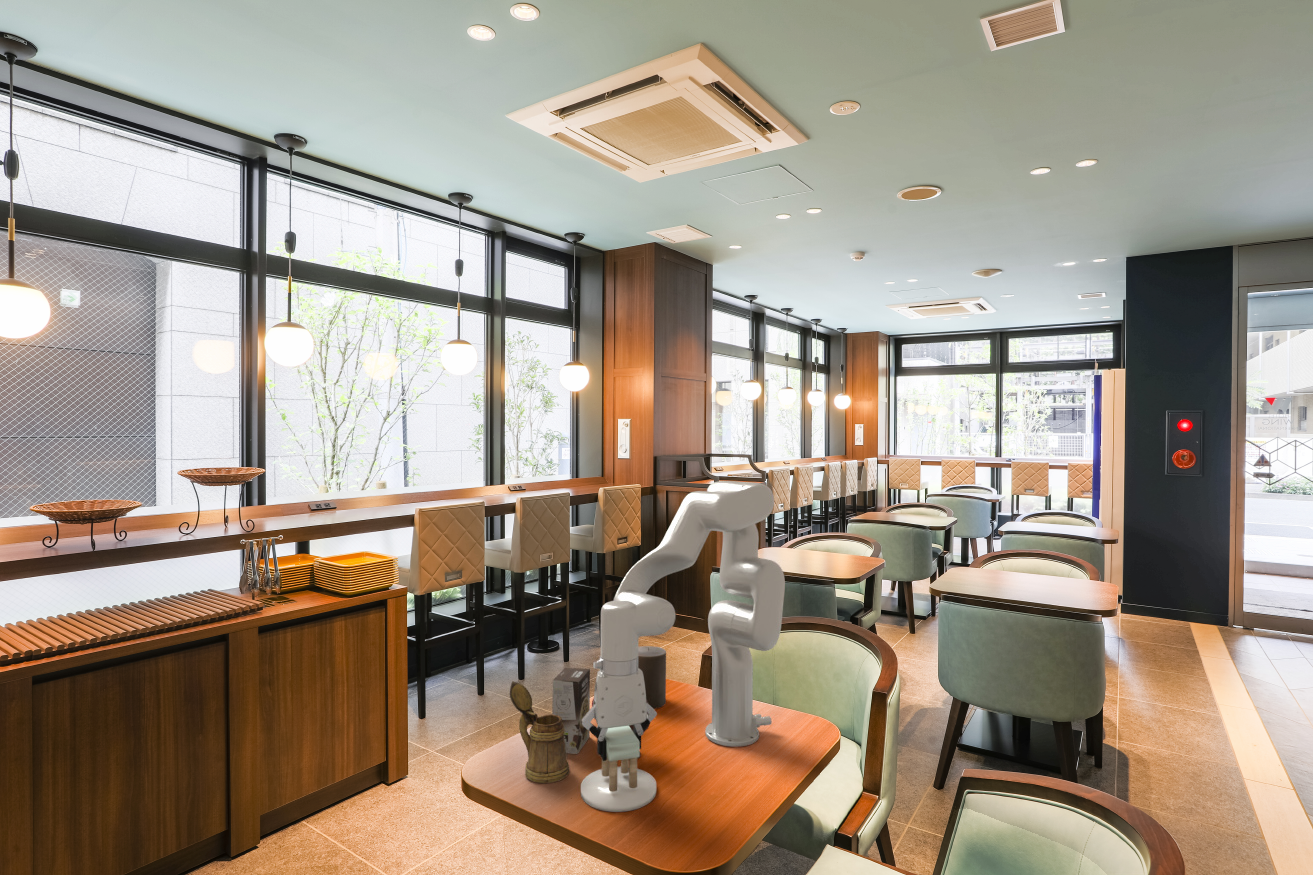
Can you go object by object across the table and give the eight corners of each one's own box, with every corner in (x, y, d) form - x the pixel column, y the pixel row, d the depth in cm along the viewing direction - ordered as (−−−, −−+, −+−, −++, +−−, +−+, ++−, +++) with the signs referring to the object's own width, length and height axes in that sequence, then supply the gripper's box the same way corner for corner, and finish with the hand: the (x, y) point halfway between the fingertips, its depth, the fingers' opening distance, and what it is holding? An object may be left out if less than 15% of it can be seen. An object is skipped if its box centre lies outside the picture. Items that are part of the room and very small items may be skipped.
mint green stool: (639, 787, 131) (639, 741, 131) (609, 792, 129) (609, 745, 129) (628, 768, 138) (628, 724, 138) (599, 772, 136) (599, 728, 136)
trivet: (643, 767, 143) (643, 761, 143) (666, 804, 129) (666, 797, 129) (573, 778, 138) (573, 772, 138) (589, 817, 124) (589, 811, 124)
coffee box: (578, 754, 149) (578, 681, 149) (551, 751, 150) (551, 679, 150) (590, 736, 158) (591, 668, 158) (564, 734, 159) (565, 666, 159)
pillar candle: (653, 712, 172) (654, 653, 172) (621, 704, 177) (622, 647, 177) (672, 700, 180) (673, 644, 180) (641, 693, 185) (642, 638, 185)
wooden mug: (522, 755, 148) (522, 674, 148) (576, 767, 143) (577, 682, 143) (498, 774, 140) (499, 687, 140) (555, 787, 135) (556, 697, 135)
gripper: (580, 675, 127) (580, 771, 127) (666, 666, 133) (666, 757, 133) (572, 663, 134) (572, 753, 134) (654, 654, 140) (654, 741, 140)
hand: (619, 754), depth 134 cm, fingers closed on mint green stool, 5 cm apart
